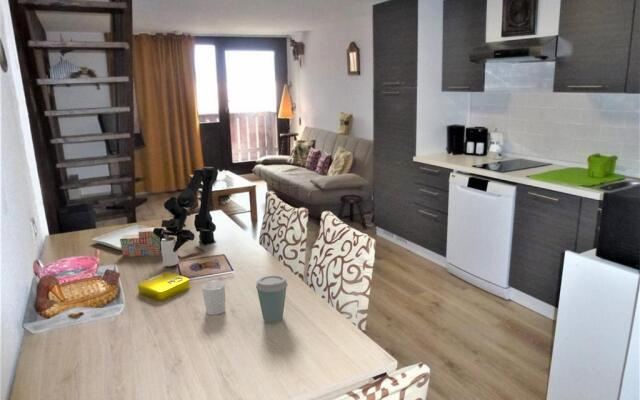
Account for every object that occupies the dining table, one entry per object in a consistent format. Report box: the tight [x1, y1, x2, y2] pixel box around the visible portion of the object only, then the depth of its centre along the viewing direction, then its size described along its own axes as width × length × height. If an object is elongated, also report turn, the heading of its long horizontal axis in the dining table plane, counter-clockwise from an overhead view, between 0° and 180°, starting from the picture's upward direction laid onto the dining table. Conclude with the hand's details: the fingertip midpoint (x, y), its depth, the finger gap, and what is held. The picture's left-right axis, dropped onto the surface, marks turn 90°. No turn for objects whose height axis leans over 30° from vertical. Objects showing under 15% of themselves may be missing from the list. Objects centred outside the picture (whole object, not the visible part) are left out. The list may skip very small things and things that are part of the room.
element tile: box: [137, 271, 191, 303], centre depth 181 cm, size 15×15×5 cm
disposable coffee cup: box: [255, 274, 288, 325], centre depth 155 cm, size 11×11×15 cm
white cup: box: [201, 280, 226, 316], centre depth 163 cm, size 8×8×10 cm
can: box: [161, 236, 179, 267], centre depth 204 cm, size 6×6×12 cm
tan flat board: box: [177, 245, 206, 260], centre depth 220 cm, size 12×8×1 cm, turn 132°
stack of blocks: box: [120, 226, 170, 257], centre depth 221 cm, size 21×6×12 cm, turn 92°
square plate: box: [91, 224, 152, 251], centre depth 242 cm, size 27×27×4 cm
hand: (167, 251), depth 203 cm, fingers closed on can, 6 cm apart
